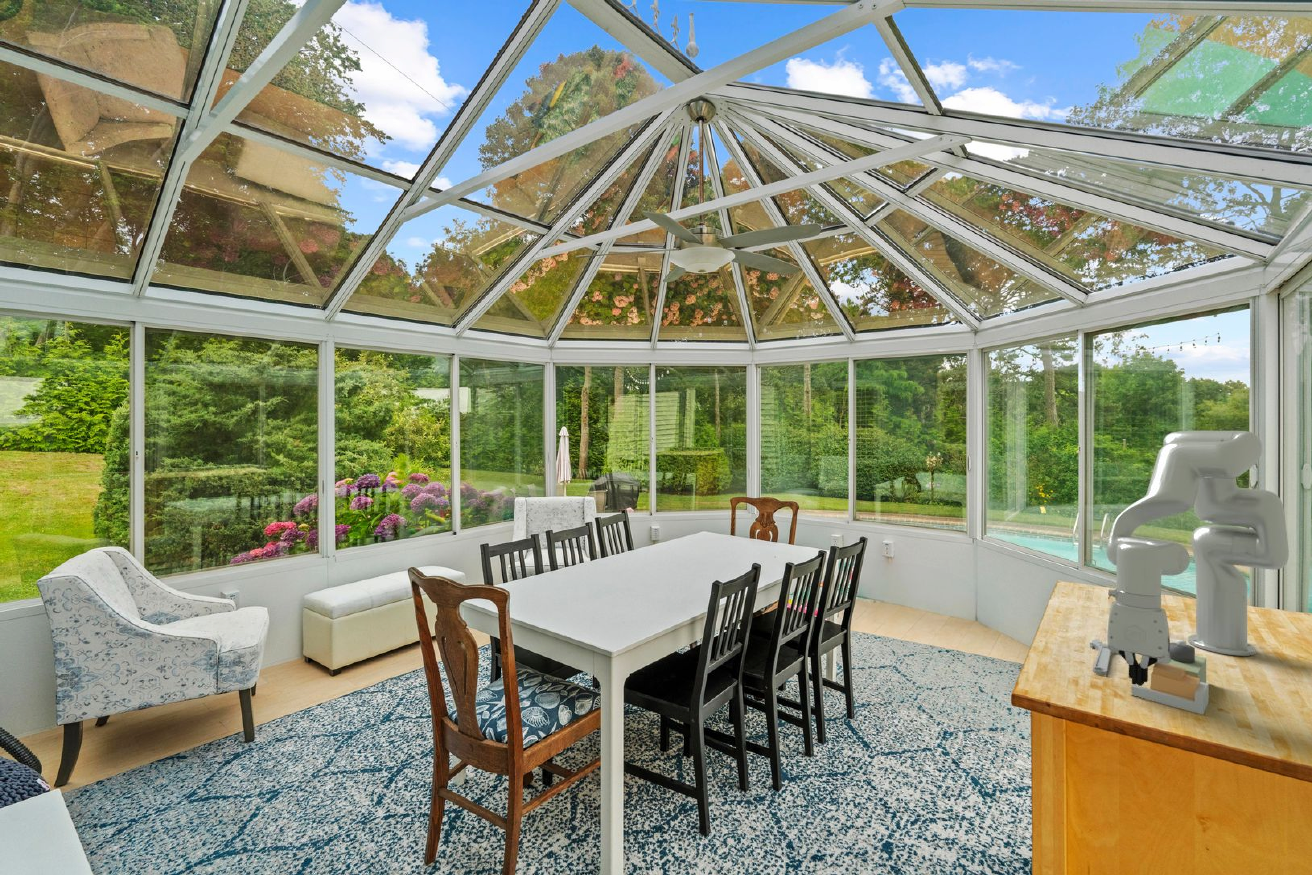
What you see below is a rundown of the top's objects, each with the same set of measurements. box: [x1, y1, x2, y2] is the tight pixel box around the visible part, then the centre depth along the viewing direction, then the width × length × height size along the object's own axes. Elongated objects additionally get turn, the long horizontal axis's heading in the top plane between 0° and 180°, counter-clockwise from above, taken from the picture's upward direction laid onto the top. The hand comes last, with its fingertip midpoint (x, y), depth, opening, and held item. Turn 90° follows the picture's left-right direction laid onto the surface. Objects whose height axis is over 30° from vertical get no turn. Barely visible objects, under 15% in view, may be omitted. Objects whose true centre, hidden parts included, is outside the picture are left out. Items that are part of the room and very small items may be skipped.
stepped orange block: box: [1149, 663, 1200, 700], centre depth 121 cm, size 5×7×6 cm
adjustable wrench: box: [1089, 638, 1116, 676], centre depth 144 cm, size 25×6×2 cm, turn 134°
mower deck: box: [1131, 639, 1210, 716], centre depth 126 cm, size 20×11×10 cm, turn 130°
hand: (1138, 683), depth 126 cm, fingers closed
